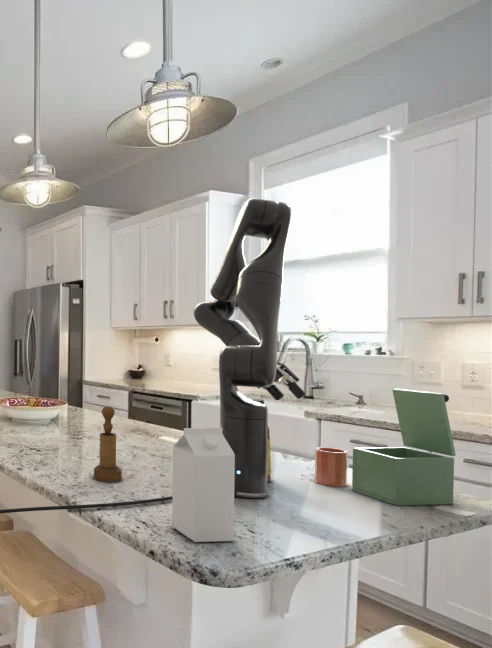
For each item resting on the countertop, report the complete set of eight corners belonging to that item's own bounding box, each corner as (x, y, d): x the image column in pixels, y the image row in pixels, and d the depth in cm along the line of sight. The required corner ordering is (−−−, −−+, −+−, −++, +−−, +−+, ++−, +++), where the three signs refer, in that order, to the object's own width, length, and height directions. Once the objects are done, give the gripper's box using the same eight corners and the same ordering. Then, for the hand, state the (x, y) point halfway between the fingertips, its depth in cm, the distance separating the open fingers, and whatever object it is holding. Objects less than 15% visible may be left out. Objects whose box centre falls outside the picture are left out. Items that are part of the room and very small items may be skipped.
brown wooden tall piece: (95, 481, 122) (96, 407, 122) (92, 474, 129) (92, 404, 128) (124, 482, 121) (124, 408, 121) (119, 475, 127) (119, 405, 127)
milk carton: (171, 527, 92) (172, 424, 92) (208, 526, 93) (209, 424, 92) (194, 543, 85) (195, 432, 85) (234, 541, 86) (235, 431, 85)
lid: (440, 394, 104) (461, 389, 104) (392, 389, 115) (411, 384, 115) (452, 456, 105) (473, 451, 105) (403, 445, 115) (422, 440, 115)
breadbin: (396, 505, 104) (397, 458, 104) (351, 490, 115) (352, 447, 115) (453, 504, 105) (454, 457, 105) (404, 489, 116) (404, 446, 115)
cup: (329, 487, 117) (329, 453, 117) (308, 479, 123) (309, 447, 123) (353, 486, 118) (354, 452, 117) (331, 479, 124) (332, 447, 124)
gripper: (241, 342, 134) (284, 389, 124) (276, 342, 140) (320, 387, 129) (223, 361, 139) (262, 408, 129) (257, 360, 145) (298, 404, 134)
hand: (291, 397), depth 129 cm, fingers open, 8 cm apart
